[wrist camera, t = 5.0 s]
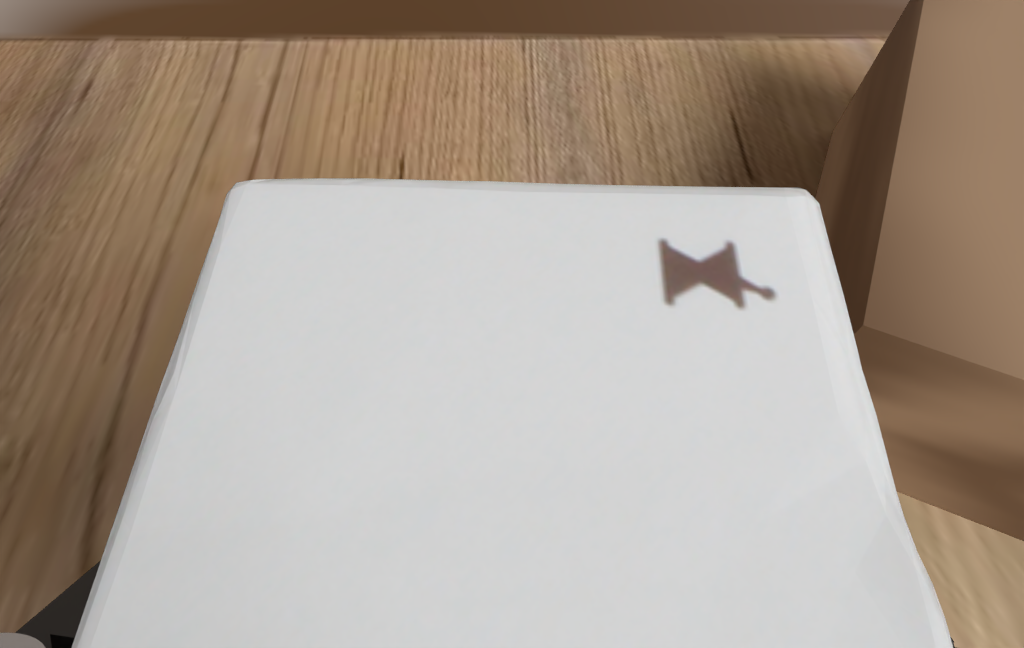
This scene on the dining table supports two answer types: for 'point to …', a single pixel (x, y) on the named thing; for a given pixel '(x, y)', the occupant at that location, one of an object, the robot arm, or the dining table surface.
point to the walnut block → (939, 252)
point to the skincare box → (513, 431)
